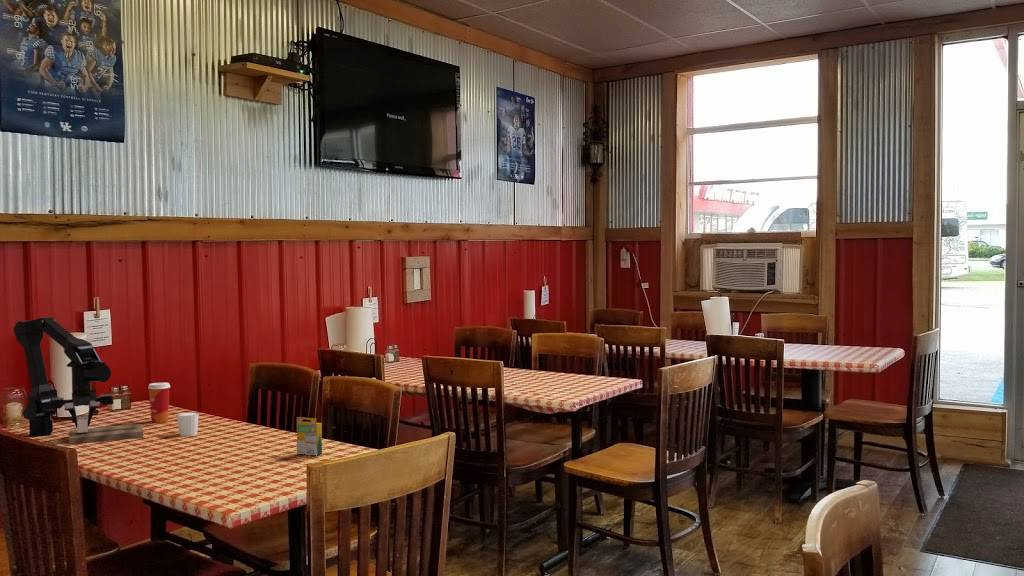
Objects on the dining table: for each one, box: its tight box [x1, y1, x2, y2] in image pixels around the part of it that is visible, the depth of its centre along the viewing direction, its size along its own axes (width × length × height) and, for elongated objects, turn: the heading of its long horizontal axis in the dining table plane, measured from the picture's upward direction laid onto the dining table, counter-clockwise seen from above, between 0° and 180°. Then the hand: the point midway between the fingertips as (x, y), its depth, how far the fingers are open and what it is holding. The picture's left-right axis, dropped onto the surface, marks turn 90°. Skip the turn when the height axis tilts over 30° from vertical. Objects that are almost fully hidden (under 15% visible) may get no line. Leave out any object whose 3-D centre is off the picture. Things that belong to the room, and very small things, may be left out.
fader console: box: [68, 423, 144, 445], centre depth 276 cm, size 22×14×2 cm, turn 117°
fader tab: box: [76, 415, 89, 433], centre depth 272 cm, size 3×6×5 cm, turn 27°
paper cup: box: [147, 382, 171, 424], centre depth 301 cm, size 8×8×14 cm
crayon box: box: [296, 416, 323, 457], centre depth 250 cm, size 7×3×12 cm, turn 70°
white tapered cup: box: [176, 412, 200, 437], centre depth 279 cm, size 7×7×7 cm
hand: (82, 427), depth 272 cm, fingers closed on fader tab, 3 cm apart
